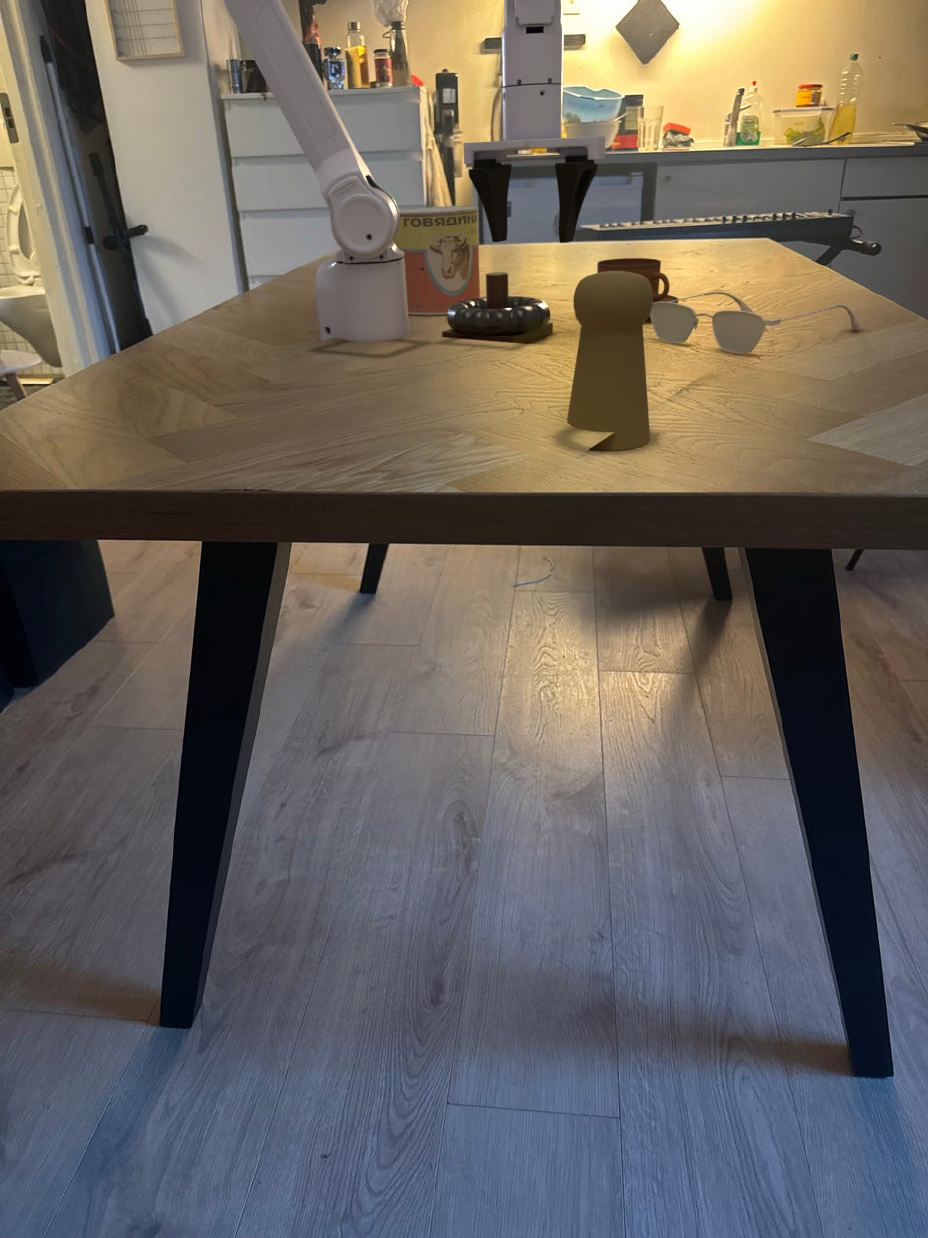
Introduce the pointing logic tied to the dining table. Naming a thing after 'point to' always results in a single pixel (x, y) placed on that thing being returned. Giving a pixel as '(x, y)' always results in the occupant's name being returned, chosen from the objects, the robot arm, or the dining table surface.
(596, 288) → the cork
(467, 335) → the stand
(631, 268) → the cup and saucer
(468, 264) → the canned food
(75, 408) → the dining table surface
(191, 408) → the dining table surface
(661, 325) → the eyeglasses
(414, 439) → the dining table surface
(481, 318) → the ring
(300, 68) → the robot arm
